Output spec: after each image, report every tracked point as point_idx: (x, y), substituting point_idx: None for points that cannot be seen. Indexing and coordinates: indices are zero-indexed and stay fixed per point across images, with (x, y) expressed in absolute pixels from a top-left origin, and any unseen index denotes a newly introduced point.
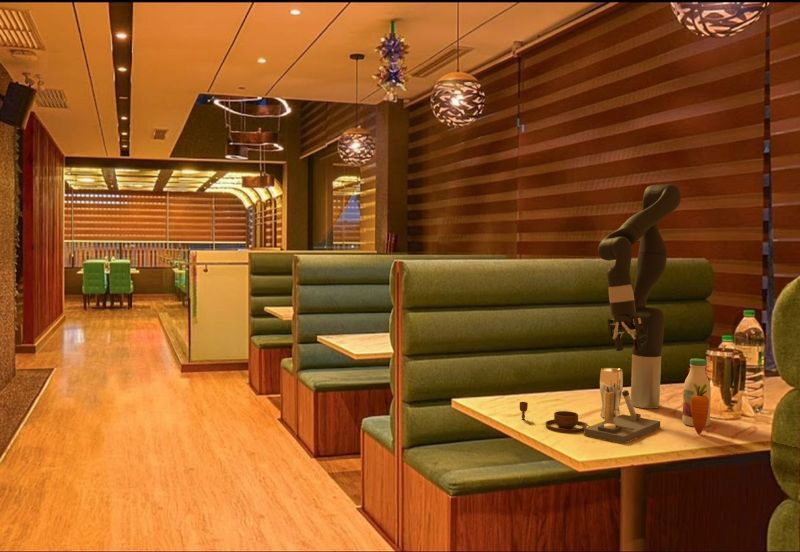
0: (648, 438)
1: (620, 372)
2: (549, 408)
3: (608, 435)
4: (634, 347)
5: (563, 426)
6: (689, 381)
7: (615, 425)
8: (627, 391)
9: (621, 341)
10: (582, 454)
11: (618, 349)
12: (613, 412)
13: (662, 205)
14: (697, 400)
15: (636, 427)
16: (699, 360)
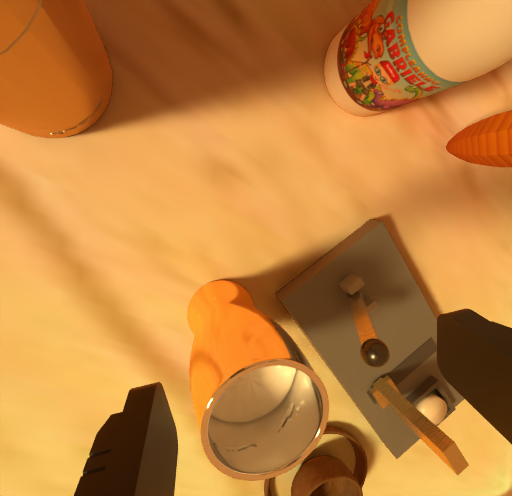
0: (441, 304)
1: (321, 382)
2: (66, 479)
3: None
4: (476, 400)
5: (337, 490)
6: (509, 57)
7: (442, 400)
8: (388, 353)
9: (143, 489)
10: (489, 478)
11: (175, 444)
12: (401, 395)
13: None
14: None
15: (421, 326)
16: None
